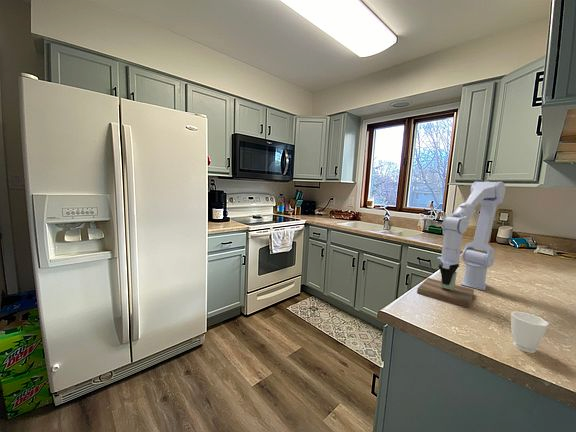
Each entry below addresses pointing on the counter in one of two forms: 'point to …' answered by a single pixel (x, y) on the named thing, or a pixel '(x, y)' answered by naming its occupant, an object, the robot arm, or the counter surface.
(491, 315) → the counter surface
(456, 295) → the base board
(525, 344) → the cup
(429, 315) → the counter surface
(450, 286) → the block
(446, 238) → the robot arm
